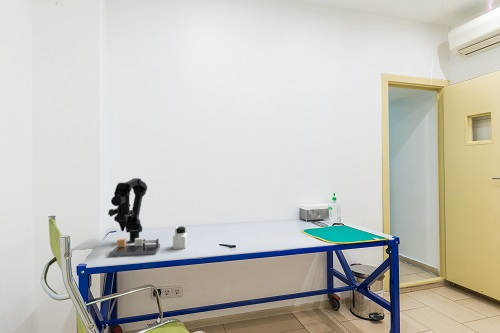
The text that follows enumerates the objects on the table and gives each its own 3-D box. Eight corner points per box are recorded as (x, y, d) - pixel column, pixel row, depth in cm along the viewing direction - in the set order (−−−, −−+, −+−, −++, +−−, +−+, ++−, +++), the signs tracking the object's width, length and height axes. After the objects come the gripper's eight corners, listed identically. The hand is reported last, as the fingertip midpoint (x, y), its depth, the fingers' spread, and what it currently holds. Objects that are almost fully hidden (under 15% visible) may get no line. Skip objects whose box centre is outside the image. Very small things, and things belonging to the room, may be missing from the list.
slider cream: (136, 244, 161) (136, 238, 161) (143, 244, 161) (143, 237, 161) (134, 246, 158) (134, 239, 158) (141, 246, 158) (141, 239, 158)
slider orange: (118, 245, 159) (118, 238, 159) (126, 245, 160) (126, 238, 160) (117, 247, 156) (117, 240, 156) (124, 246, 157) (124, 239, 157)
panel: (117, 249, 160) (117, 238, 160) (160, 247, 164) (160, 236, 164) (109, 256, 146) (109, 244, 146) (156, 254, 150) (155, 242, 150)
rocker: (147, 243, 161) (147, 240, 161) (157, 242, 162) (157, 240, 162) (142, 243, 150) (143, 240, 151) (154, 242, 151) (154, 240, 151)
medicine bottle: (187, 245, 167) (187, 225, 167) (185, 248, 160) (184, 228, 160) (175, 245, 167) (175, 225, 167) (172, 248, 160) (172, 228, 160)
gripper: (114, 201, 171) (115, 226, 171) (104, 206, 153) (104, 234, 153) (133, 201, 173) (134, 225, 173) (125, 205, 154) (125, 233, 155)
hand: (124, 229), depth 163 cm, fingers open, 8 cm apart
